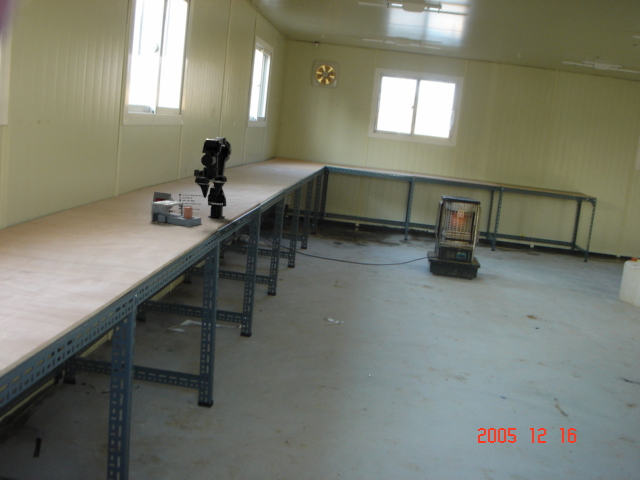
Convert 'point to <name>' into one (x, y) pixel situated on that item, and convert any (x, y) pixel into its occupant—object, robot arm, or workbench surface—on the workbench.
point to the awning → (163, 208)
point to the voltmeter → (169, 198)
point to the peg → (188, 212)
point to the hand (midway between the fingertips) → (210, 197)
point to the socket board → (179, 219)
